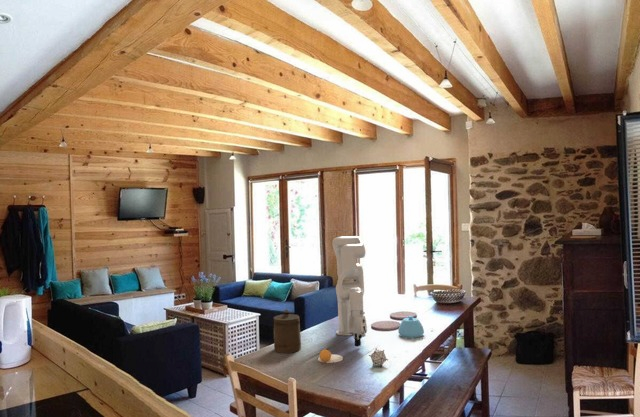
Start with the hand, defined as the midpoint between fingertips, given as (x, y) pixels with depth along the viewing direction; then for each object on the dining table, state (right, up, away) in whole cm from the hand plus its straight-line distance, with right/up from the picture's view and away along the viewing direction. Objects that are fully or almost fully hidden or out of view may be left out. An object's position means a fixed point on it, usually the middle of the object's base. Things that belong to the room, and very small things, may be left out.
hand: (357, 345), depth 267 cm
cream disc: (-15, -2, -16) cm, 22 cm away
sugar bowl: (+34, -1, +23) cm, 41 cm away
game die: (+8, -2, -29) cm, 30 cm away
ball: (-18, +1, -20) cm, 27 cm away
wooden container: (-39, -3, +3) cm, 39 cm away
